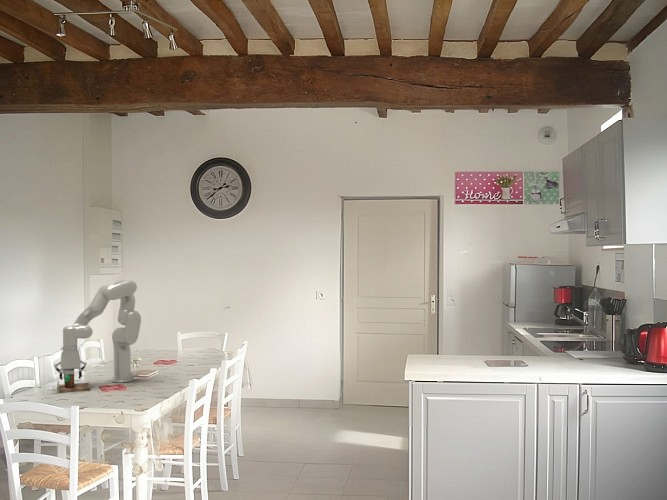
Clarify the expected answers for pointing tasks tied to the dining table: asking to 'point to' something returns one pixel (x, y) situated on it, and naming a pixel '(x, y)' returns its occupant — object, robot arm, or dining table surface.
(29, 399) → the dining table surface
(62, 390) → the shelf board
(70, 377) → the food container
